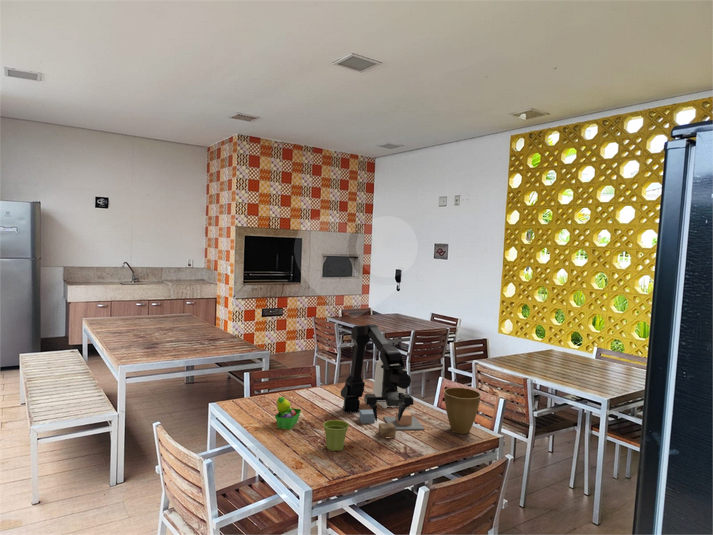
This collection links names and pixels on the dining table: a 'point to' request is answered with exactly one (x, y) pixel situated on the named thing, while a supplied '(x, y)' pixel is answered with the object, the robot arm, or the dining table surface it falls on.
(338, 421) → the plant pot
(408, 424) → the tower base
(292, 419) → the fruit basket
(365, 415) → the slate block
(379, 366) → the milk
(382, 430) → the walnut block
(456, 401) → the plant pot
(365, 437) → the dining table surface
